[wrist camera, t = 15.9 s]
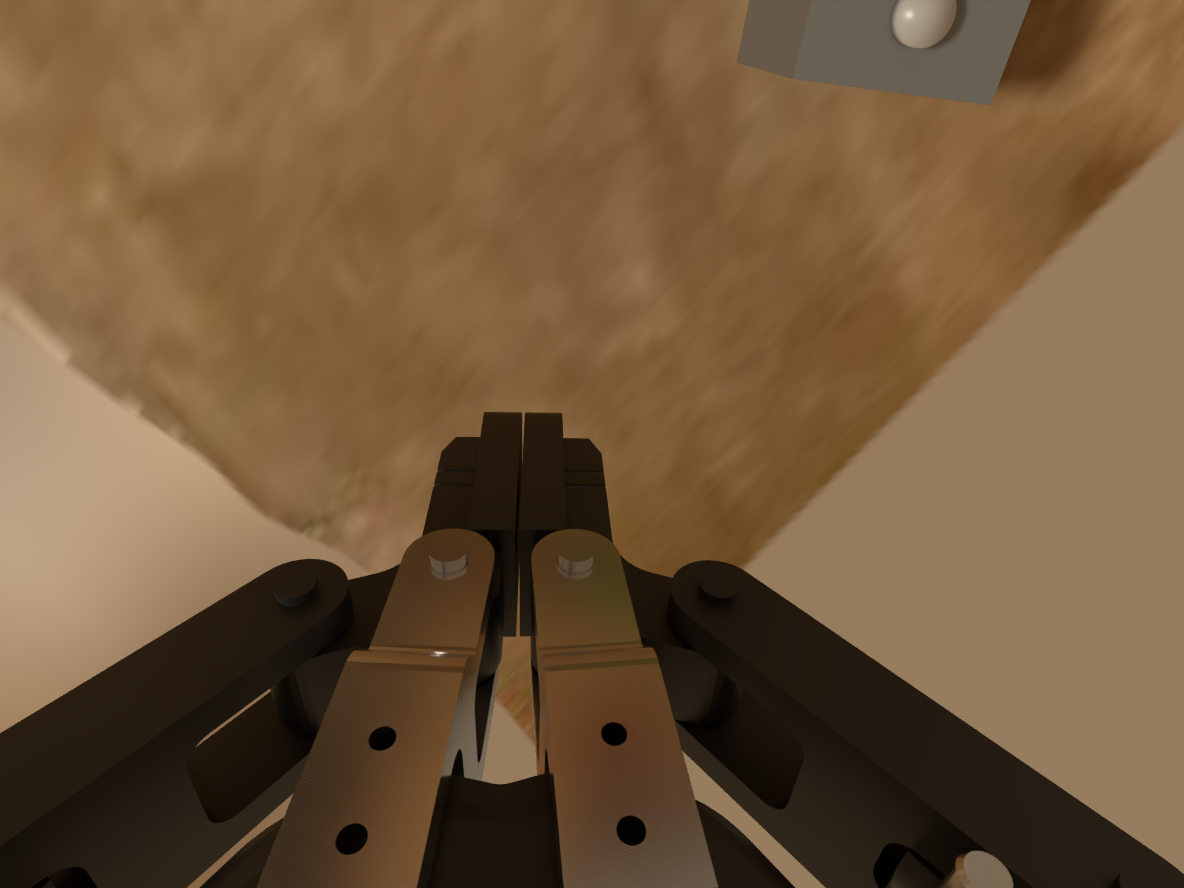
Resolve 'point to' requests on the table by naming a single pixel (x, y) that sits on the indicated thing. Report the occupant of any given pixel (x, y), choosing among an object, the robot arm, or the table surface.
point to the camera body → (887, 43)
